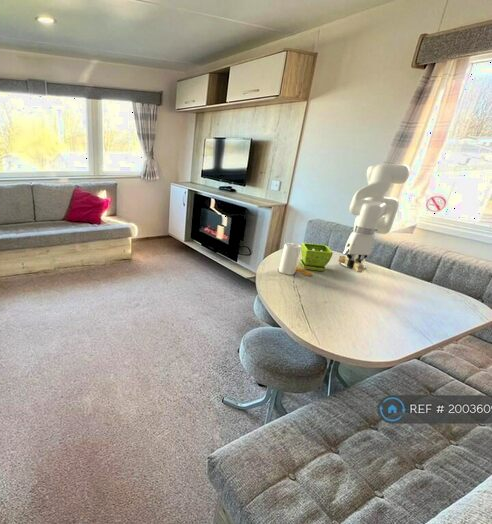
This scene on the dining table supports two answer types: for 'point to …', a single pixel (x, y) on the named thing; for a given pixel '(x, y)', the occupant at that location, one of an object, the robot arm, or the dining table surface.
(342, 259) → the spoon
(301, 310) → the dining table surface
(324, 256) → the flower pot
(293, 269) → the cup
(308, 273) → the breadstick
